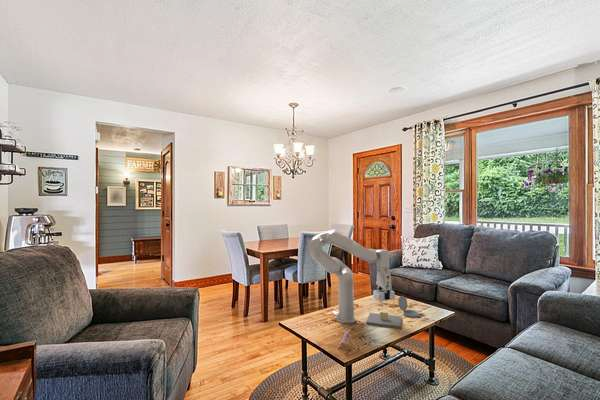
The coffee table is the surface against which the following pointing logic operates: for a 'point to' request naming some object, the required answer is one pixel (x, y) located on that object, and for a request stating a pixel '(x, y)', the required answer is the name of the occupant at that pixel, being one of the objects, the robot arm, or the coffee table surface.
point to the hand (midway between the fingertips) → (383, 297)
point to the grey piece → (384, 320)
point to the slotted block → (382, 295)
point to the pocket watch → (403, 307)
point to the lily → (346, 337)
